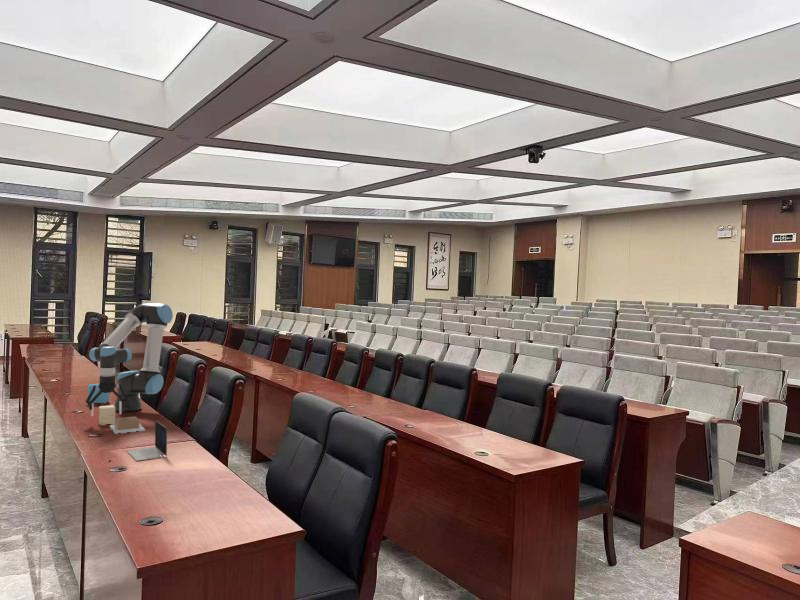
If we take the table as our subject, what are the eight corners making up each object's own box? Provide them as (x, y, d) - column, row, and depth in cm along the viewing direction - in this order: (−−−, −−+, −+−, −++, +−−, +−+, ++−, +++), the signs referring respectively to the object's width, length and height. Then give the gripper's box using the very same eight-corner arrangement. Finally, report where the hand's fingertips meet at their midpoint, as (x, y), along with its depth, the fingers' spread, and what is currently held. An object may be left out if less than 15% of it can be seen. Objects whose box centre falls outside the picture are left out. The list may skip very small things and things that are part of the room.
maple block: (98, 422, 320) (99, 406, 320) (113, 421, 324) (113, 405, 323) (100, 425, 314) (100, 408, 314) (115, 424, 318) (115, 407, 318)
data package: (109, 402, 377) (109, 383, 377) (109, 403, 373) (109, 384, 373) (87, 403, 371) (88, 384, 371) (88, 404, 367) (88, 385, 367)
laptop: (126, 452, 266) (127, 423, 265) (156, 448, 273) (156, 420, 273) (136, 462, 251) (136, 431, 251) (167, 457, 259) (167, 428, 259)
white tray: (109, 426, 311) (109, 417, 311) (138, 423, 319) (138, 414, 319) (114, 434, 296) (115, 424, 296) (144, 430, 304) (144, 421, 304)
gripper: (131, 373, 328) (130, 411, 328) (80, 375, 314) (79, 415, 314) (133, 375, 322) (132, 414, 322) (82, 377, 308) (81, 418, 308)
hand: (106, 414), depth 318 cm, fingers open, 13 cm apart
